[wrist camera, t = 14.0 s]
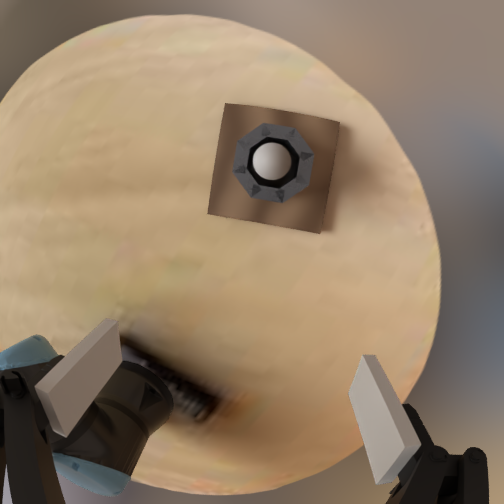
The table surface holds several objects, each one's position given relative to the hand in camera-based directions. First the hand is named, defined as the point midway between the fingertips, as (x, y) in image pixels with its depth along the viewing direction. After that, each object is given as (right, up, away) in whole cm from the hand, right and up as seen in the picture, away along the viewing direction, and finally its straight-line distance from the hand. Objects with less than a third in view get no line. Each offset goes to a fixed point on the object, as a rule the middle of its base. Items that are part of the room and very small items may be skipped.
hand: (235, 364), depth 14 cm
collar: (+3, +15, +17) cm, 23 cm away
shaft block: (+4, +16, +21) cm, 26 cm away
